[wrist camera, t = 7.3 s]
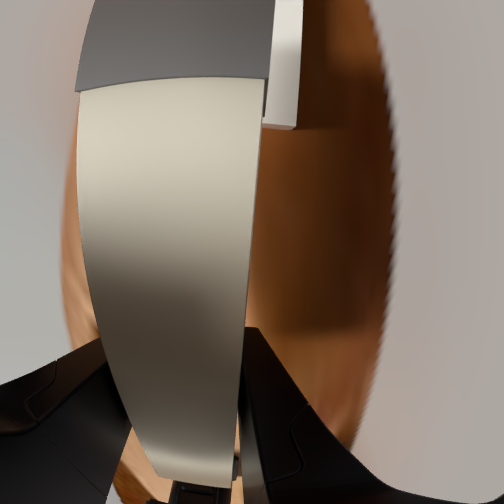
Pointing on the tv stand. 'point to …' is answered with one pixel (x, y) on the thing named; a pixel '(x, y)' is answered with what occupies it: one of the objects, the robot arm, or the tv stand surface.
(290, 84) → the tile
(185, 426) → the curved white panel
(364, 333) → the tv stand surface
